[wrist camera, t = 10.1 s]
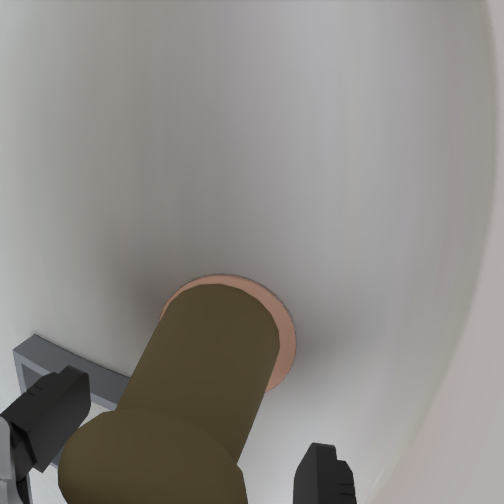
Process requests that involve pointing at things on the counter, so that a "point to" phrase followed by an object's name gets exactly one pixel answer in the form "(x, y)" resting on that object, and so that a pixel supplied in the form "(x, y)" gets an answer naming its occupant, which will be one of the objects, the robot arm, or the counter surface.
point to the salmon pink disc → (271, 304)
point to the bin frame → (55, 360)
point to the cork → (180, 408)
